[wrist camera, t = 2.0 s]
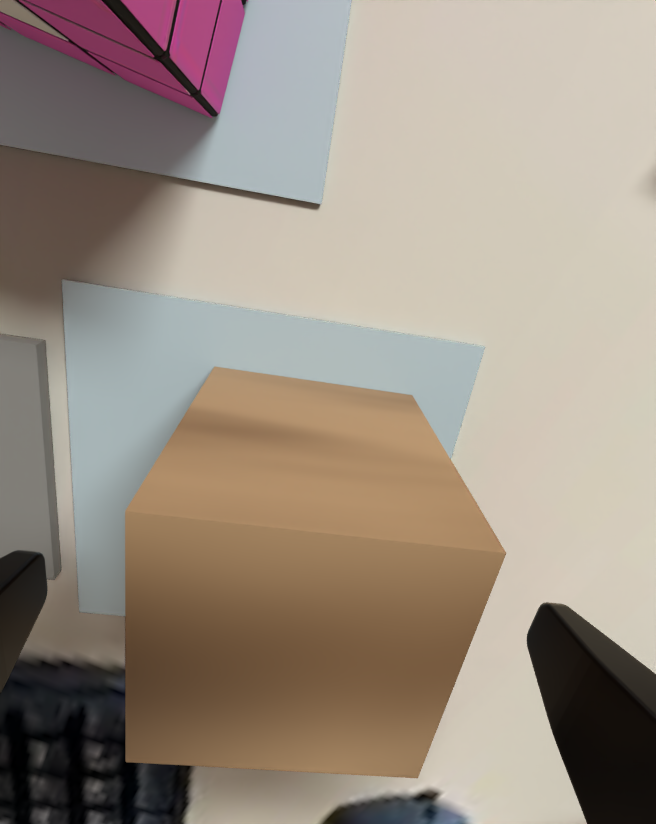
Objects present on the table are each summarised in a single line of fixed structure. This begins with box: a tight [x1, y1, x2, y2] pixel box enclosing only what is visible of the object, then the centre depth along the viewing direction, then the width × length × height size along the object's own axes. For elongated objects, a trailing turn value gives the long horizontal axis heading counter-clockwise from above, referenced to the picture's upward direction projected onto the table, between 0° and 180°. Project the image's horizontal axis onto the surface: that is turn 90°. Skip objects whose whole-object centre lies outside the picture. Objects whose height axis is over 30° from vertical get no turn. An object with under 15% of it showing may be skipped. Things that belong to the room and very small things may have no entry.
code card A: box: [62, 279, 485, 616], centre depth 13 cm, size 10×10×1 cm
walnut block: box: [125, 366, 506, 778], centre depth 10 cm, size 5×5×6 cm
